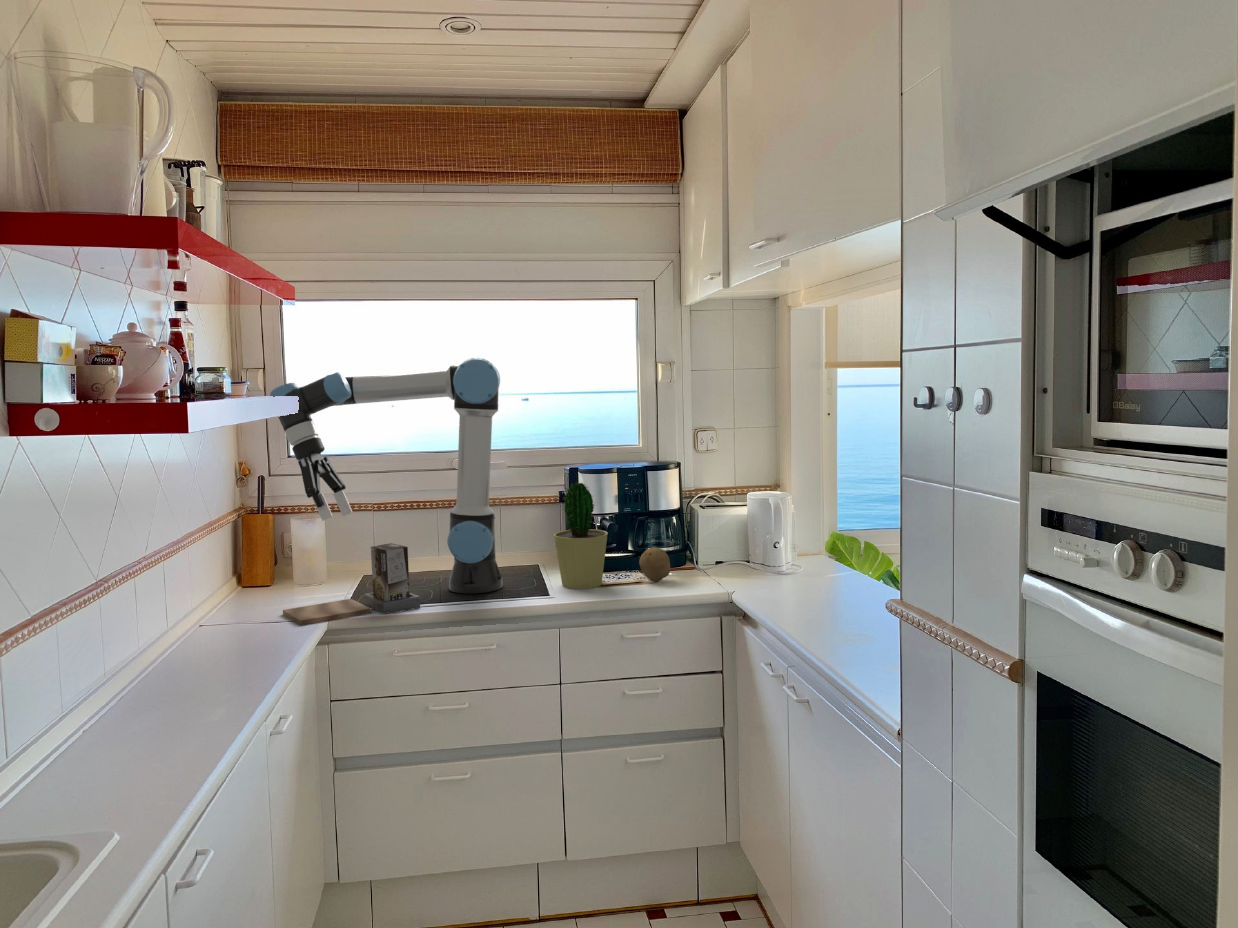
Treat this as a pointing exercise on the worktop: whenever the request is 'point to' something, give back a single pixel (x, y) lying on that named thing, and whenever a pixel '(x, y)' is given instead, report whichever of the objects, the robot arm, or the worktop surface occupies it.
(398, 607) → the holder
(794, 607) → the worktop surface
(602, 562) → the potted cactus
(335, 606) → the board
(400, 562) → the coffee box
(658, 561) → the coconut
